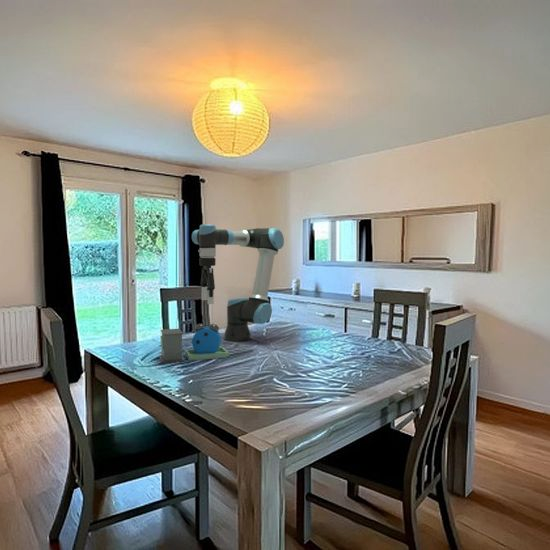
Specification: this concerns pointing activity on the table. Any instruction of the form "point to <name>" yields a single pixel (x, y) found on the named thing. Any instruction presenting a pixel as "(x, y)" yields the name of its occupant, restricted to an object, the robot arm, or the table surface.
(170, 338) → the box
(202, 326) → the alarm clock
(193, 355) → the green tray
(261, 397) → the table surface
